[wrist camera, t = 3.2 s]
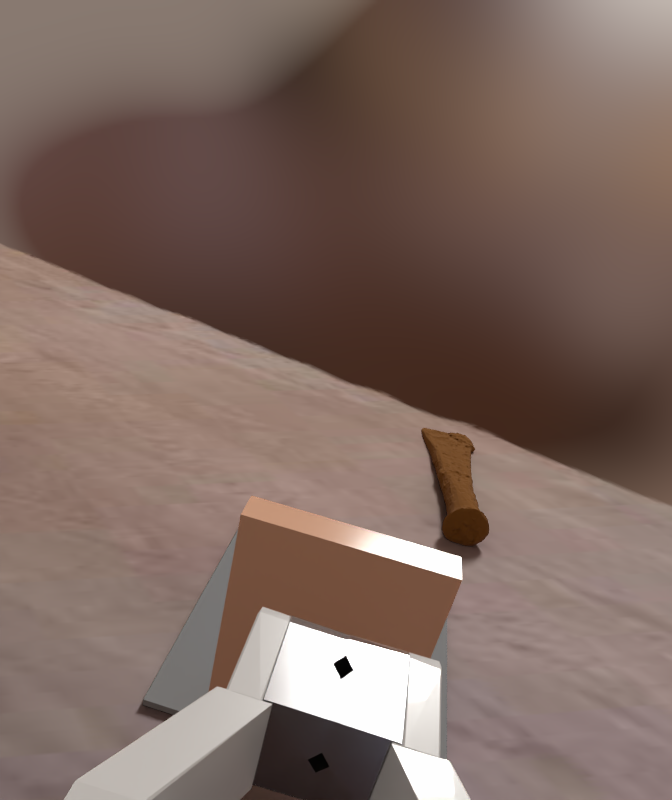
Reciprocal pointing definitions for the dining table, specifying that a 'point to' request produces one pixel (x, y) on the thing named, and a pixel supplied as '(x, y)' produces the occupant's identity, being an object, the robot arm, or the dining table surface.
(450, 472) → the primitive tool
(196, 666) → the mat
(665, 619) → the dining table surface
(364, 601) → the tile
